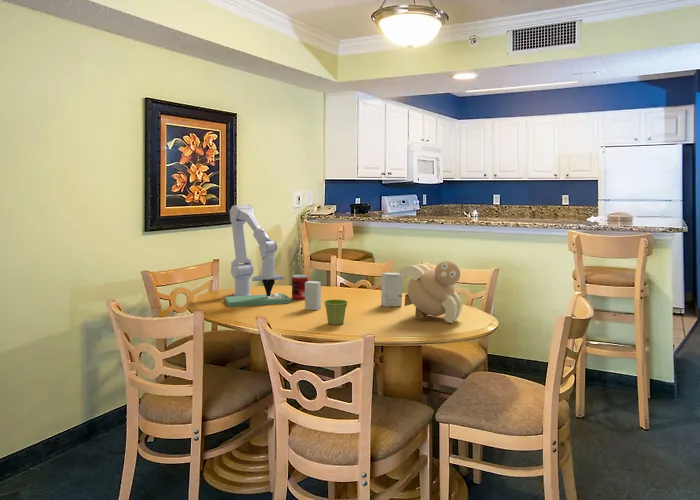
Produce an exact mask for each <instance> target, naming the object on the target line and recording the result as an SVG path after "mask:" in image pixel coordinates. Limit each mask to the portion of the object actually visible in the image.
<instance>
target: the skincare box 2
mask: <svg viewBox="0 0 700 500" xmlns="http://www.w3.org/2000/svg"><path fill="white" fill-rule="evenodd" d="M403 281H404V279H403V278H402V276H401V275H400V274H399V272H382V273H381V293H380V295H381V296H380V299H381V300H380V305H381V306H383V307H385V308H390V307H389V306H394V307H402V306H403V305H402V302H403Z"/></svg>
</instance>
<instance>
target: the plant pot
mask: <svg viewBox="0 0 700 500" xmlns="http://www.w3.org/2000/svg"><path fill="white" fill-rule="evenodd" d="M348 303H349V301H347V300H344V299H327V300H324V301H323V304H324V306H325V311H326V317H327V318H326V319H327V324H329V325H331V326H332V325H333V326H339V325H341V324H342V325H344V323H345V316H346V315H345V314H346V308H347V305H348Z"/></svg>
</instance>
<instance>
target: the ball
mask: <svg viewBox="0 0 700 500" xmlns="http://www.w3.org/2000/svg"><path fill="white" fill-rule="evenodd" d="M271 294H272V295H271V298H278V295H277V294H278V293H276V292H275V293H274V292H273V293H271Z"/></svg>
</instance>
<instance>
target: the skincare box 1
mask: <svg viewBox="0 0 700 500" xmlns="http://www.w3.org/2000/svg"><path fill="white" fill-rule="evenodd" d="M321 283H322V282H321V281H315V280H308V282H305V299H304V310H309V311H310V310H311V311H319V310H320V309H322V303H321V302H322V298H321V297H322V294H321V293H322V289H321V288H322V287H321V285H322V284H321Z"/></svg>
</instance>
